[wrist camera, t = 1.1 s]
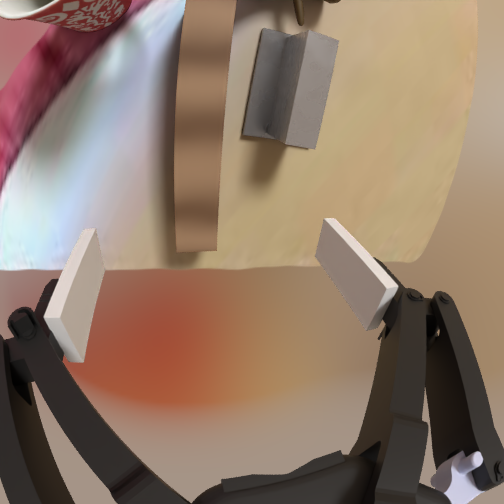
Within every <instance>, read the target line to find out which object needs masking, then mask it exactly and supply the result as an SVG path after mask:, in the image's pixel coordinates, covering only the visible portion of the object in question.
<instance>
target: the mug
mask: <svg viewBox="0 0 504 504" xmlns="http://www.w3.org/2000/svg"><path fill="white" fill-rule="evenodd" d="M131 1H132V0H0V17H2V18H4V19H7V20H21V19H28V20H34V21H39V22H44V23H49V24H54V25H58V26H62V27H66V28H70V29H73V30H76V31H81V32H94V31H98V30H101V29H103V28H105V27H107V26H109V25H111V24H113V23H114V22H115V21H117V20H118V19H119V18H120V17H121V16H122V15H123V14H124V13H125V12H126V11H127V9H128V7H129V6H130V4H131Z"/></svg>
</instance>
